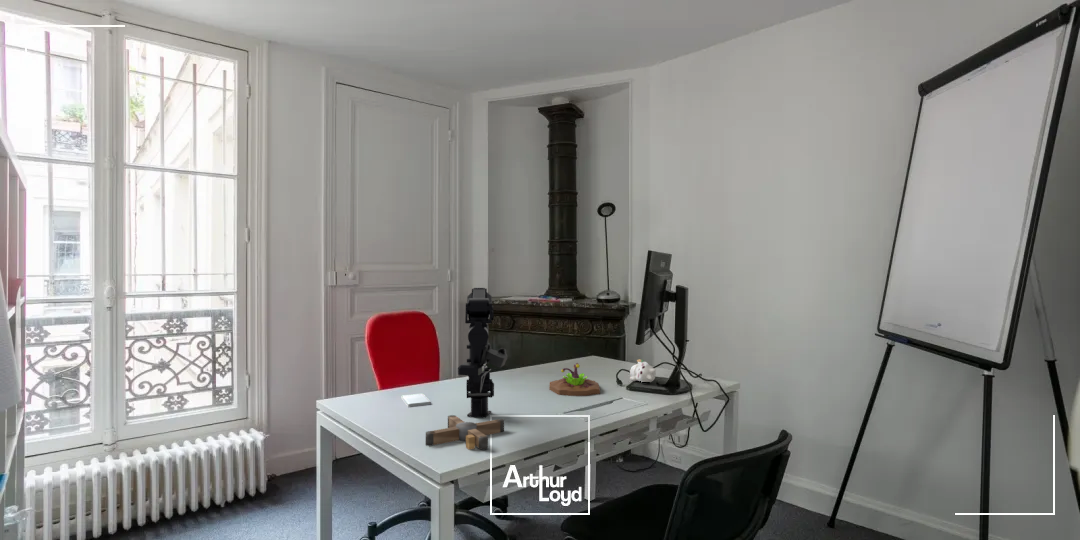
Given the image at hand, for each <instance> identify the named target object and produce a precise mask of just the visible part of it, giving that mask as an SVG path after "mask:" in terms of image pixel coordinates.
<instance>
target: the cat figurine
mask: <svg viewBox="0 0 1080 540" xmlns="http://www.w3.org/2000/svg"><path fill="white" fill-rule="evenodd" d="M636 362H637V364H634V365H632V366H631V368H630V370H629V373H630V376H629V380H630V381H631V382H636V381H639V382H640V381H641V383H642V382H650V383H652V382H653V381H654V380H655V378H656V376H657V375H656V371H657V369H656V368H654V367H653V366H652V365H650V364H649V363H648V362H647V361H645V360H644V359H640V358H639V359H636Z"/></svg>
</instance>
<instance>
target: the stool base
mask: <svg viewBox="0 0 1080 540" xmlns="http://www.w3.org/2000/svg"><path fill="white" fill-rule="evenodd" d="M472 429H476V430H478V431H480V432H481V433H483V434H484V435H486V436H490V435H494V434H501V433H504V432H505V419H503V418H498V419H494V420H493V419H492V420H487V421H482V422H481V421H480V422H472V421H469V422H468V421H464V420H463V419H461V418H459V417H458V416H457V415H453V414H451V415H448V416H447V428H441V429H435V430H428V431H426V432H425V446H427V447H428V446H429V447H431V446H435V445H436V446H437V445H440V444H441V445H442V444H447V443H451V442H458V441H462V442H465V448H466V449H467V450H470V451H471V450H474V449H476V446H475V436H473V435H468V430H472Z"/></svg>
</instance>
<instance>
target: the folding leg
mask: <svg viewBox="0 0 1080 540" xmlns="http://www.w3.org/2000/svg"><path fill="white" fill-rule="evenodd" d="M468 435H473V436H475V448H476V447H477V449H479V450H481V451H483V450H487V449H489V435H484V434H483V433H481V432H480V431H478V430H476V429H472V430H468Z"/></svg>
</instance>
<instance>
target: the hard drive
mask: <svg viewBox="0 0 1080 540" xmlns="http://www.w3.org/2000/svg"><path fill="white" fill-rule="evenodd" d="M400 397H401V398H400V399H401V400H402V401H403V403H404V404H405V405H406V406H407V407H408V408H411V407H419V406H422V407H423V406H428V405H430V406H431V405H432V401H431V400H430V399H429V398H428V397H427V396H426V395H425V394H424V393H414V394H405V395H404V394H403V395H401V396H400Z"/></svg>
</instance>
